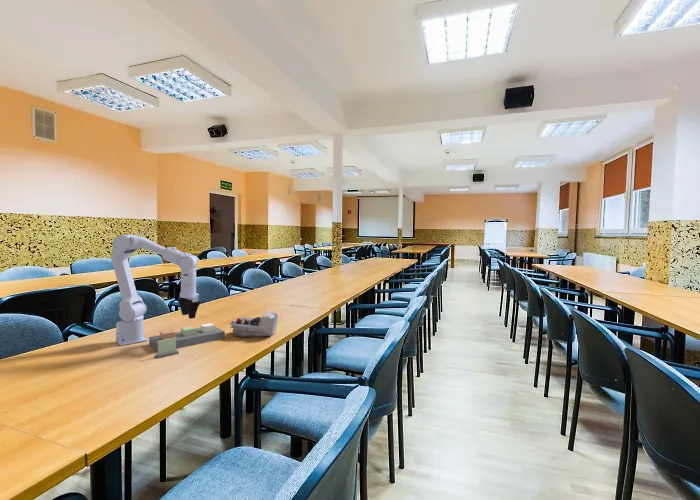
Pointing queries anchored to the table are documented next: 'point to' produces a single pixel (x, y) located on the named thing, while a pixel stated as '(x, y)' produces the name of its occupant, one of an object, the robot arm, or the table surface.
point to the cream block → (207, 328)
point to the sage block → (188, 331)
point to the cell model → (255, 325)
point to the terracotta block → (167, 334)
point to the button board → (190, 338)
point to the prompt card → (166, 348)
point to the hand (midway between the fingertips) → (188, 316)
